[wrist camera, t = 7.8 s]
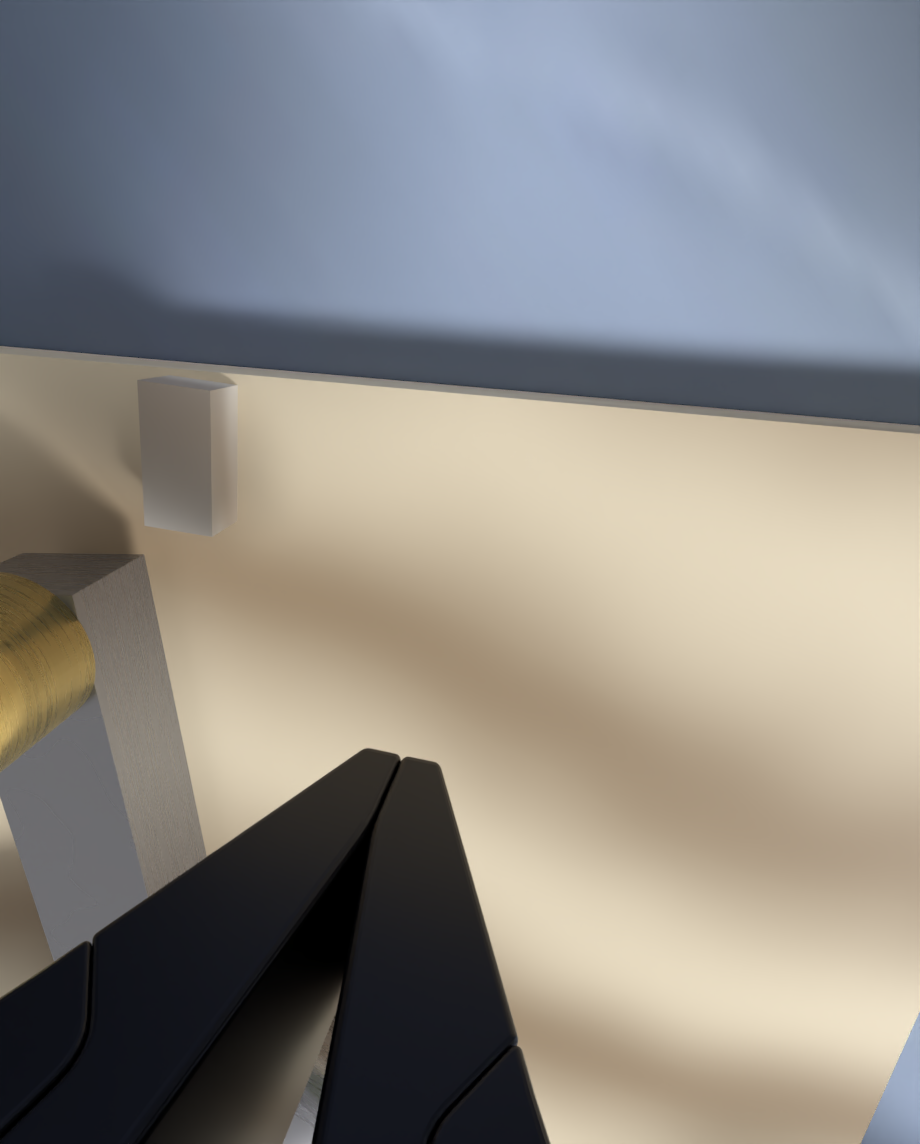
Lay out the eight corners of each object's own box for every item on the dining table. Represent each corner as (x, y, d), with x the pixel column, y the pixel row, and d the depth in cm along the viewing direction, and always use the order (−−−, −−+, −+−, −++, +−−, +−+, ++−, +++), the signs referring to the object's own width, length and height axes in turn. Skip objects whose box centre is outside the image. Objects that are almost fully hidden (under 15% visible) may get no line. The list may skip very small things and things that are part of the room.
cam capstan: (432, 1257, 15) (366, 1736, 10) (71, 1200, 17) (-151, 1598, 11) (371, 536, 9) (141, 801, 4) (-181, 532, 11) (-874, 733, 6)
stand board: (736, 1339, 17) (755, 1448, 16) (18, 1177, 20) (-33, 1258, 18) (1106, 441, 9) (1228, 470, 7) (-210, 327, 11) (-344, 329, 10)
